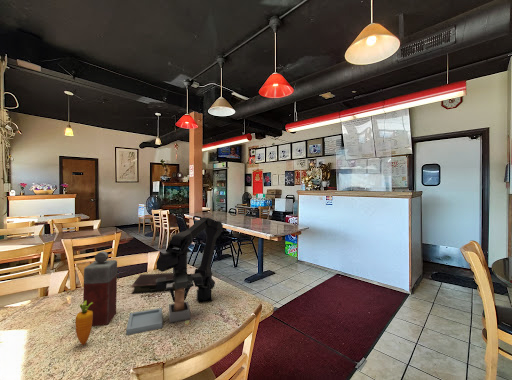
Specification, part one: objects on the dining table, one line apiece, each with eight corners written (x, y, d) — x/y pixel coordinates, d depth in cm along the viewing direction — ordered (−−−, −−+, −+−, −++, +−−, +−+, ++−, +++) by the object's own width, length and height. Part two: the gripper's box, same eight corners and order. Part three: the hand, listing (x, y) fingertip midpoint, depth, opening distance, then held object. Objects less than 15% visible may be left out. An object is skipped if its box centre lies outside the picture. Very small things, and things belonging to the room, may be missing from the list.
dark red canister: (118, 310, 103) (119, 247, 103) (107, 324, 92) (109, 254, 92) (95, 312, 101) (97, 248, 101) (82, 327, 90) (83, 255, 90)
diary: (140, 282, 137) (140, 273, 137) (184, 279, 142) (184, 271, 142) (130, 295, 118) (131, 285, 119) (182, 291, 124) (182, 282, 124)
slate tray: (161, 312, 102) (161, 307, 102) (162, 328, 91) (162, 322, 91) (129, 317, 97) (129, 313, 97) (126, 335, 86) (126, 329, 86)
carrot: (81, 340, 83) (81, 298, 83) (95, 340, 83) (96, 298, 83) (71, 350, 78) (71, 305, 78) (86, 349, 78) (87, 304, 78)
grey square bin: (187, 310, 104) (187, 301, 104) (189, 319, 97) (190, 310, 97) (168, 313, 101) (168, 304, 101) (169, 323, 94) (169, 313, 94)
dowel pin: (183, 308, 102) (184, 285, 102) (184, 312, 98) (184, 289, 98) (173, 310, 100) (174, 286, 100) (174, 314, 97) (175, 290, 97)
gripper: (156, 273, 88) (155, 314, 88) (205, 267, 95) (204, 305, 95) (156, 264, 98) (155, 301, 98) (200, 260, 106) (200, 294, 106)
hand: (179, 300), depth 99 cm, fingers closed on dowel pin, 4 cm apart
